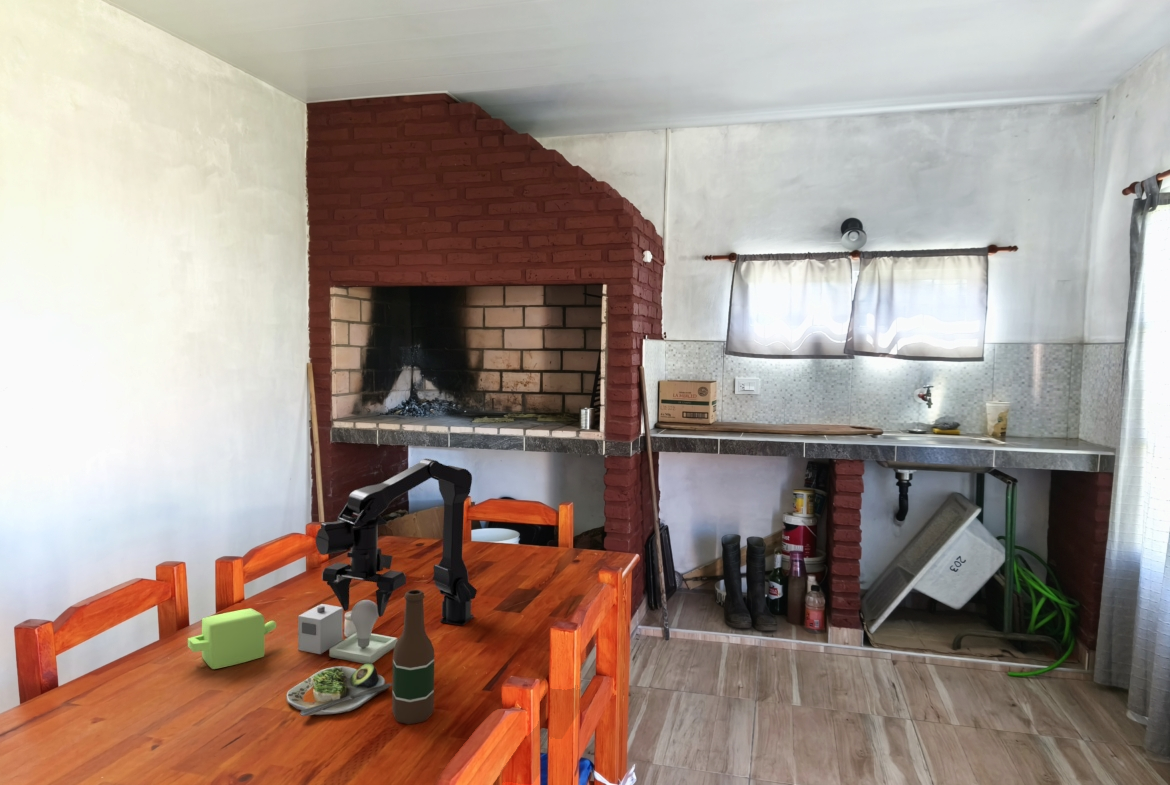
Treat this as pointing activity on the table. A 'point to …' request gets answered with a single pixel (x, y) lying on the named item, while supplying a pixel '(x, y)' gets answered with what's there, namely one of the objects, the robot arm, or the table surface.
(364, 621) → the lightbulb
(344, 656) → the tray
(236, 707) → the table surface
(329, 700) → the salad plate
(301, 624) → the box
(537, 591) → the table surface
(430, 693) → the beer bottle
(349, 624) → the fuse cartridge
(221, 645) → the gearbox
